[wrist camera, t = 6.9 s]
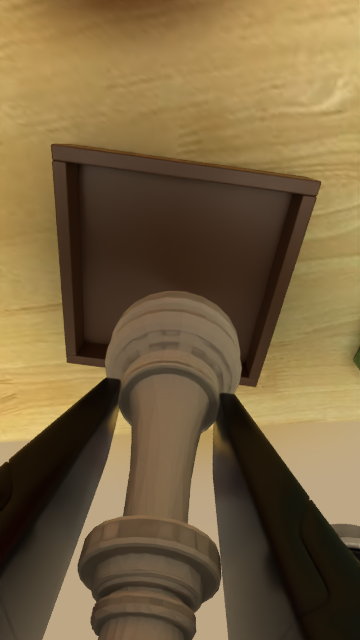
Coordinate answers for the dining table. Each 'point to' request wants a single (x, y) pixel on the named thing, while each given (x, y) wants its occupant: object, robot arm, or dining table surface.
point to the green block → (357, 359)
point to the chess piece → (161, 468)
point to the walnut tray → (174, 242)
